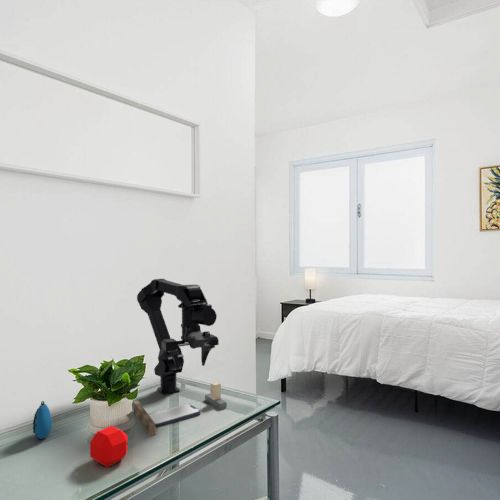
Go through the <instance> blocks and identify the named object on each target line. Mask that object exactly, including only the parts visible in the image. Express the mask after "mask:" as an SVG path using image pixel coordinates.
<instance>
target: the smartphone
mask: <svg viewBox="0 0 500 500" xmlns="http://www.w3.org/2000/svg"><path fill="white" fill-rule="evenodd" d="M148 415H149V416H150V417H151V419H152V420H153V422H154V423H155V428H159V427H164V426H167V425H171V424H175V423H178V422H182V421H185V420H188V419H192V418H195V417H198V416H200V415H201V410H200V409H199V408H197V407H195V406H193V405H192V404H190V403H184V404H180V405H175V406H173V407H170V408H166V409H162V410H159V411H156V412H151V413H148Z"/></svg>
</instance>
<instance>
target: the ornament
mask: <svg viewBox="0 0 500 500" xmlns="http://www.w3.org/2000/svg"><path fill="white" fill-rule="evenodd" d="M52 423H53V421H52V414H51V411H50V409H49V406H48V405H47V404H46V403H45V401H44V400H42V401H41V403H40V405H39V406H38V408H37V409H36V412H35V413H34V417H33V422H32V430H33V434H34V437H36V438H38V439H39V440H40V439H41V440H43V439H45V438H47V436H49V434H50V433H51V430H52V426H53V425H52Z"/></svg>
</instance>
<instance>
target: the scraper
mask: <svg viewBox="0 0 500 500" xmlns="http://www.w3.org/2000/svg"><path fill="white" fill-rule="evenodd" d="M209 386H210V393H207V394H205V395H204V400H205V401H206V402H207V403H209V404H211V405H212V406H214V407H215V408H216V409H218V410H224V409H227V408H226V407H227V404H228V403H227V401H225V400H223V399H222V398H221V396H222V388H221V387H222V384H221V383H220V382H219V381H214V382H211V383H210V385H209ZM223 408H224V409H223Z"/></svg>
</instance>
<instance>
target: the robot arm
mask: <svg viewBox="0 0 500 500" xmlns="http://www.w3.org/2000/svg"><path fill="white" fill-rule="evenodd" d="M140 289H141V290H140V291H139V292H138V294H137V295H136V300H137V302H138V305H139V306H140V309H141V310H142V311H143V312H145V313H146V314H147V316H148V319H149V322H150V326H151V328H152V331H153V333H154V336H155V340H156V342H157V345H158V350H159V351H158V357H157V361H158V362H157V364H156V365H155V367H154V369H153V371H154V375H155V376H156V377H160V379H159V380H160V386H159V387H157V391H158V392H160V393H161V395H167V394H172V393H177V392H180V391H181V390H180V389H179V388H178V387H177V374H179V373H182V371H183V368H184V364H185V360H184V357H185V356H184V355H183V353H182V352H183V351H182V349H181V347H184V346H189V348H190V349H192V350H193V349H197V348H198V349H199V348H201V349H200V350H201V354H200V355H201V366H202V367H203V366H205V364H206V362H207V359H208V355H209V354H210V351H211V350H212V349H215V348H216V346H218V345H219V341H220V340H219V337H218V336H217V335H215V334H211V333H210V331H201V325H203V326H206V327H211V326H213V325H214V324H215V323H216V320H217V317H218V315H217V313H216V311H215V309H214V308H213V307H212V304H208V300H207V299H206V297H205V294H204V292H203V290H202V288H201V286H200V285H198V284H181V283H177V282H174V281H172V280H171V281H170V280H168V279H165V278H155V279H154V278H153V279H152V280H151V281H150V283H149V284H147V285H145V286H144V287H142V288H140ZM165 294H169V295H172V296H174V297H176V299H177V301H180V302H181V303H179V304H178V306H177V307H178V308H179V309H181V324H180V328H181V335H180V339H181V340H177V339H174V338H171V336H170V333H169V330H168V326H167V324H166V322H165V319H164V315H163V313H162V310H161V308H162V303H163V299H162V298H163V296H165Z"/></svg>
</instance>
